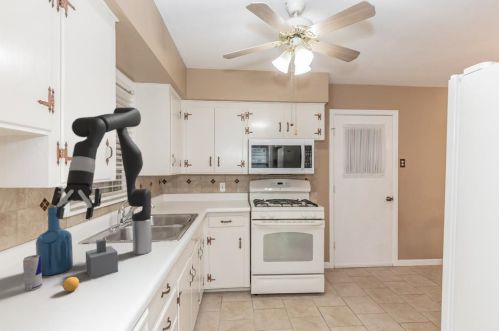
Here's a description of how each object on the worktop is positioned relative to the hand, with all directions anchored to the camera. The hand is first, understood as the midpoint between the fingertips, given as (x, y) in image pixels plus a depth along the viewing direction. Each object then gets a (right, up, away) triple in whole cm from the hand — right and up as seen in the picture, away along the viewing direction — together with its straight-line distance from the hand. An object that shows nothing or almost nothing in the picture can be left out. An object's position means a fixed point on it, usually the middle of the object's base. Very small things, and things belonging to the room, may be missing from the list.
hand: (73, 219), depth 88 cm
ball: (-9, -27, +12) cm, 31 cm away
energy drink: (-26, -30, +15) cm, 42 cm away
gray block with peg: (-7, -29, +29) cm, 42 cm away
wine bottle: (-29, -29, +31) cm, 51 cm away
